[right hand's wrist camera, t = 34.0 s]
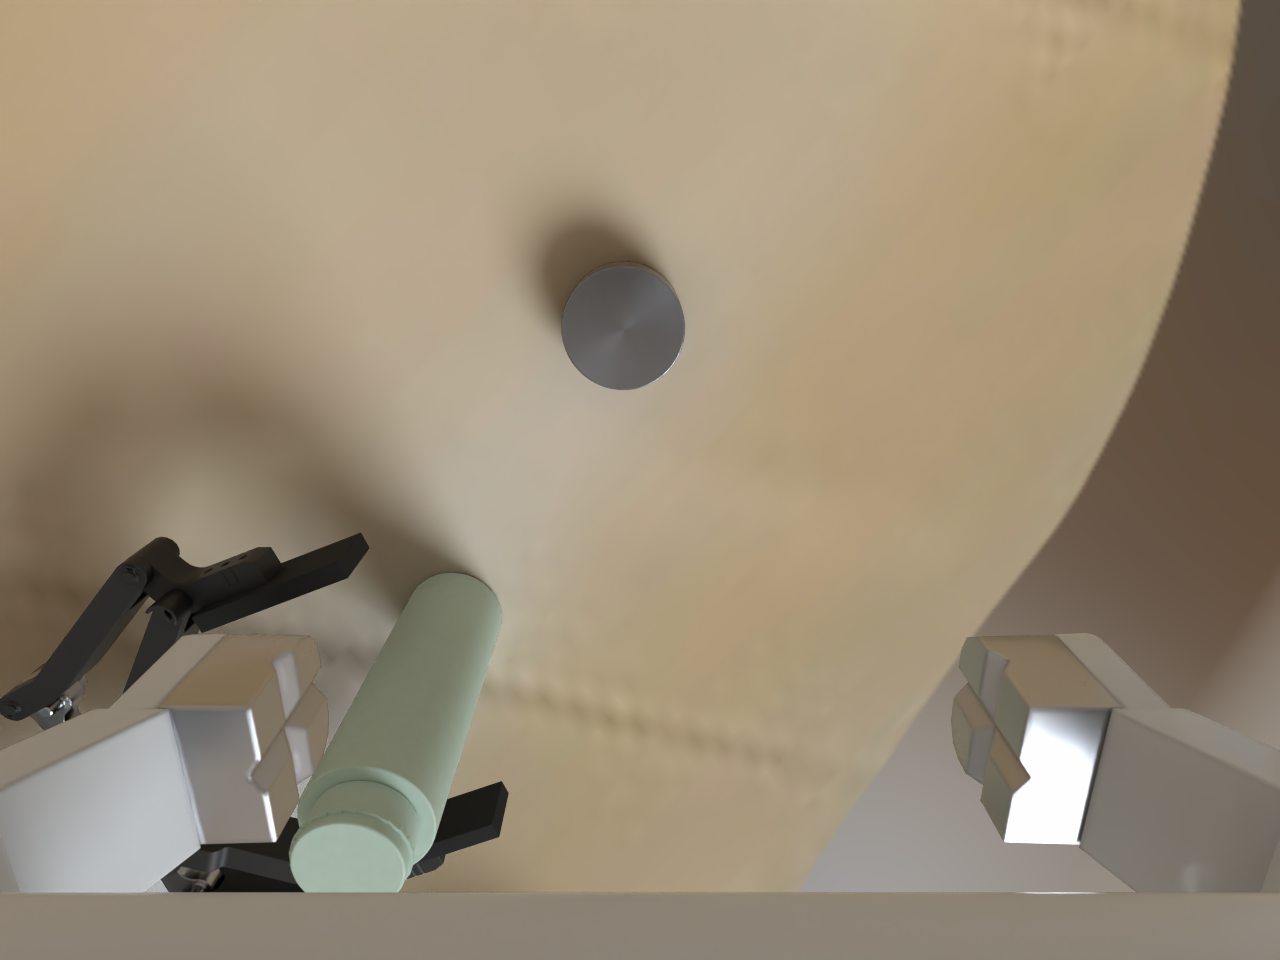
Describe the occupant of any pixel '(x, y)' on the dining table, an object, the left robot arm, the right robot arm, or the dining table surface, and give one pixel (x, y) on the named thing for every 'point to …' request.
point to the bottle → (398, 744)
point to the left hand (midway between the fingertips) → (433, 689)
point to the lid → (623, 326)
